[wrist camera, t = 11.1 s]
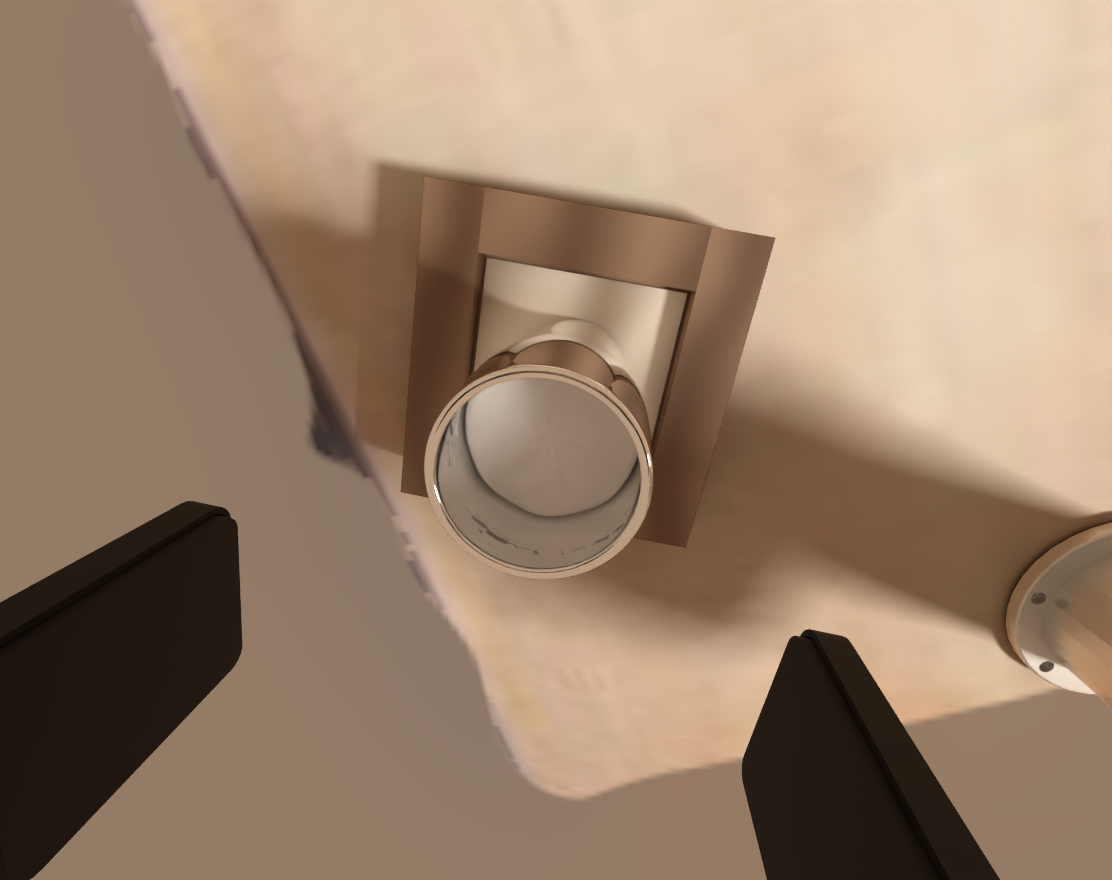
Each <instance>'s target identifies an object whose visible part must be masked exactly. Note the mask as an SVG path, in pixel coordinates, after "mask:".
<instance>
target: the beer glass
mask: <svg viewBox="0 0 1112 880" xmlns="http://www.w3.org/2000/svg"><path fill="white" fill-rule="evenodd" d="M424 476H425V484H426V489H427V493H428V497H429V500H430V503H431V505H432V508H433V510H434V512H435V514H436V516H437V518H438V520H439V521H440V523H441V525H442V526H443V528H444V529H445V530H446V532H447V533H448V534H449V536H450V537H451V538H452V539H453V540H454V541H455V542H456V543H457V544H458V545H459V546H460V547H461V548H462V549H463V550H464V551H466V552H467V553H468V554H469V555H471V556H472V557H474V558H475V559H477V560H478V561H480V562H482V563H483V564H485V565H487V566H489V567H491V568H493V569H496V570H498V571H501V572H503V573H506V574H510V575H513V576H517V577H522V578H529V579H560V578H566V577H571V576H575V575H578V574H582V573H585V572H587V571H590V570H592V569H594V568H596V567H598V566H600V565H602V564H604V563H605V562H607V561H608V560H610V559H611V558H613V557H614V556H615V555H616V554H618V553H619V552H620V551H621V550H622V549H623V548H624V547H625V546H626V545H627V544H628V543H629V542H630V540H631V539H632V538H633V537H634V535H635V534H636V532H637V531H638V529H639V528H640V526H641V524H642V522H643V520H644V518H645V516H646V513H647V510H648V507H649V504H650V500H651V496H652V489H653V466H652V446H651V431H650V425H649V419H648V413H647V409H646V406H645V403H644V400H643V398H642V395H641V393H640V390H639V388H638V386H637V384H636V382H635V380H634V379H633V377H632V375H631V374H630V372H629V371H628V370H627V368H626V365H625V361H624V358H623V355H622V353H621V350H620V349H619V347H618V345H617V343H616V342H615V341H614V339H613V338H612V337H611V336H610V335H609V334H608V333H607V332H606V331H604V330H603V329H601V328H600V327H598V326H596V325H594V324H592V323H589V322H586V321H582V320H575V319H566V320H559V321H555V322H552V323H549V324H547V325H545V326H543V327H542V328H540V329H539V330H537V331H536V332H535V333H534V334H533V335H532V336H530V337H527V338H524V339H521V340H518V341H516V342H514V343H512V344H510V345H508V346H506V347H505V348H503V349H501V350H500V351H498V352H497V353H495V354H494V355H492V356H491V357H490V358H488V359H487V360H486V361H485V362H484V363H483V364H482V365H481V366H480V367H479V368H478V369H477V370H476V371H475V372H474V373H473V374H472V375H471V376H470V377H469V378H468V379H467V380H466V382H465V383H464V384H463V386H462V387H461V388H460V389H459V391H458V392H457V393H456V395H455V396H454V397H453V398H452V399H451V400H450V401H449V402H448V404H447V405H446V406H445V407H444V409H443V410H442V411H441V413H440V415H439V416H438V418H437V420H436V421H435V423H434V425H433V428H432V430H431V433H430V435H429V438H428V442H427V446H426V451H425V459H424Z"/></svg>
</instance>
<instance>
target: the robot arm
mask: <svg viewBox="0 0 1112 880" xmlns="http://www.w3.org/2000/svg"><path fill="white" fill-rule="evenodd" d="M1006 628H1007V635H1008V638H1009V641H1010V643H1011V645H1012V648H1013V650H1014V651H1015V652H1016V654H1017V655H1018V656H1019V658H1020V659H1021V660H1022V661H1023V662H1024V663H1025V664H1026V665H1027V666H1028V667H1029V668H1030V669H1031V670H1032V671H1033V672H1034V673H1035V674H1037V675H1038V676H1040V677H1041V678H1043V679H1044V680H1046V681H1048V682H1049V683H1051V684H1053V685H1056V686H1058V687H1061V688H1064V689H1066V690H1070V691H1076V692H1081V693H1086V694H1096V695H1098V696H1099V697H1100V698H1101V699H1102V700H1103V701H1104V702H1106V703H1107V704H1108V705H1109V706H1110V707H1111V708H1112V522H1111V523H1108V524H1104V525H1100V526H1097V527H1093V528H1090V529H1088V530H1086V531H1083V532H1081V533H1079V534H1076V535H1074V536H1072V537H1070V538H1068V539H1066V540H1065V541H1063V542H1061V543H1060V544H1058V545H1056V546H1055V547H1053V548H1051V549H1050V550H1049V551H1048V552H1047V553H1045V554H1044V555H1043V556H1042V557H1040V558H1039V559H1038V560H1037V561H1036V562H1035V563H1034V564H1033V565H1032V566H1031V567H1030V568H1029V569H1028V571H1027V572H1026V573H1025V574H1024V575H1023V576H1022V578H1021V579H1020V581H1019V583H1018V584H1017V586H1016V588H1015V589H1014V591H1013V593H1012V596H1011V599H1010V602H1009V604H1008V607H1007V615H1006ZM241 650H242V626H241V600H240V575H239V550H238V527H237V523H236V521H235V520H234V519H232V518H231V517H230V514H229V512H228V511H227V510H226V509H225V508H223V507H218V506H213V505H208V504H203V503H199V502H194V501H187V502H184V503H181V504H180V505H178V506H176V507H174V508H172V509H170V510H169V511H167V512H165V513H163V514H161V515H159V516H158V517H156V518H154V519H152V520H150V521H148V522H147V523H145V524H143V525H141V526H139V527H138V528H136V529H134V530H132V531H130V532H128V533H127V534H125V535H123V536H121V537H119V538H117V539H116V540H114V541H112V542H110V543H108V544H107V545H105V546H103V547H101V548H99V549H97V550H95V551H94V552H92V553H90V554H88V555H87V556H84V557H83V558H81V559H79V560H77V561H75V562H73V563H72V564H70V565H68V566H66V567H64V568H63V569H61V570H59V571H57V572H55V573H53V574H52V575H50V576H48V577H46V578H44V579H42V580H41V581H39V582H37V583H35V584H33V585H31V586H30V587H28V588H26V589H24V590H22V591H21V592H19V593H17V594H15V595H13V596H11V597H9V598H8V599H6V600H4V601H2V602H1V603H0V880H30V879H31V878H33V877H34V876H35V875H36V874H37V873H38V872H39V871H41V870H42V869H43V868H44V867H45V865H46V864H47V863H48V862H49V861H50V860H51V859H52V858H53V857H54V856H55V855H56V854H57V853H58V852H59V851H60V850H61V849H62V848H63V847H64V845H65V844H66V843H67V842H68V841H69V840H70V839H71V838H72V837H73V836H74V835H75V834H76V833H77V832H78V831H79V830H80V829H81V827H83V826H84V824H85V823H86V822H87V821H88V820H89V819H90V818H91V817H92V816H93V815H94V814H95V813H96V812H97V811H98V810H99V808H100V807H102V806H103V804H104V803H105V802H106V801H107V800H108V799H109V798H110V797H111V796H112V795H113V794H114V793H115V792H116V791H117V790H118V789H119V788H120V787H121V786H122V784H123V783H124V782H125V781H126V780H127V779H128V778H129V777H130V776H131V775H132V774H133V773H134V772H135V771H136V770H137V769H138V768H139V767H140V766H141V764H142V763H143V762H144V761H145V760H146V759H147V758H148V757H149V756H150V755H151V754H152V753H153V752H154V751H155V750H156V749H157V748H158V747H159V745H160V744H161V743H162V742H163V741H164V740H165V739H166V738H167V737H168V736H169V735H170V734H171V733H172V732H173V731H174V730H175V729H176V728H177V727H178V725H179V724H180V723H181V722H182V721H183V720H184V719H185V718H186V717H187V716H188V715H189V714H190V713H191V712H192V711H193V710H194V709H195V708H196V706H197V705H198V704H199V703H200V702H201V701H202V700H203V699H204V698H205V697H206V696H207V695H208V694H209V693H210V692H211V691H212V689H214V688H215V686H216V685H217V684H218V683H219V682H220V681H221V680H222V679H223V678H224V677H225V676H226V675H227V674H228V673H229V672H230V671H231V670H232V668H233V667H234V666H235V664H236V663H237V661H238V659H239V656H240V654H241ZM742 779H743V784H744V789H745V793H746V797H747V801H748V805H749V809H750V813H751V817H752V821H753V825H754V829H755V833H756V837H757V841H758V845H759V849H760V853H761V857H762V861H763V865H764V869H765V873H766V877H767V880H1000V879H999V877H998V876H997V874H996V873H995V871H994V869H993V868H992V866H991V865H990V863H989V862H988V860H987V858H986V857H985V855H984V854H983V852H982V850H981V849H980V847H979V846H978V844H977V842H976V841H975V839H974V838H973V836H972V834H971V833H970V831H969V830H968V828H967V826H966V825H965V823H964V822H963V820H962V819H961V817H960V815H959V814H958V812H957V811H956V809H955V807H954V806H953V804H952V803H951V801H950V799H949V798H948V796H947V795H946V793H945V792H944V790H943V788H942V787H941V785H940V784H939V782H938V780H937V779H936V777H935V776H934V774H933V773H932V771H931V769H930V768H929V766H928V765H927V763H926V761H925V760H924V758H923V757H922V755H921V753H920V752H919V750H918V749H917V748H916V745H915V744H914V742H913V741H912V739H911V737H910V736H909V735H908V733H907V731H906V730H905V728H904V726H903V725H902V723H901V722H900V720H899V718H898V717H897V715H896V714H895V712H894V710H893V709H892V707H891V706H890V704H889V702H888V701H887V699H886V698H885V696H884V695H883V693H882V691H881V690H880V688H879V687H878V685H877V683H876V682H875V680H874V679H873V677H872V675H871V674H870V672H869V671H868V669H867V668H866V666H865V664H864V663H863V661H862V660H861V658H860V656H859V655H858V653H857V652H856V650H855V648H854V647H853V645H852V644H851V642H850V641H849V640H848V639H847V638H845V637H843V636H839V635H834V634H830V633H825V632H820V631H815V630H810V629H808V630H805V631H804V632H803V633H802V634H801V636H800V637H799V636H793V637H791V638H790V640H789V642H788V644H787V646H786V649H785V652H784V654H783V657H782V659H781V662H780V664H779V667H778V669H777V672H776V675H775V677H774V680H773V682H772V685H771V687H770V690H769V693H768V695H767V698H766V700H765V703H764V705H763V708H762V711H761V713H760V716H759V718H758V721H757V723H756V726H755V728H754V731H753V734H752V736H751V739H750V741H749V744H748V746H747V749H746V752H745V754H744V757H743V762H742Z"/></svg>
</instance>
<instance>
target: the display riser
mask: <svg viewBox="0 0 1112 880" xmlns="http://www.w3.org/2000/svg"><path fill="white" fill-rule="evenodd" d="M774 241H775V238H774V237H768V236H762V235H756V234H751V233H745V232H739V231H734V230H728V229H722V228H716V227H711V226H705V225H699V224H694V223H688V222H682V221H676V220H671V219H665V218H659V217H654V216H648V215H642V214H636V213H631V212H625V211H619V210H614V209H608V208H602V207H596V206H591V205H585V204H579V203H574V202H568V201H562V200H556V199H551V198H545V197H539V196H534V195H528V194H522V193H516V192H511V191H505V190H499V189H494V188H488V187H482V186H476V185H471V184H465V183H459V182H454V181H448V180H442V179H436V178H431V177H425V176H424V188H423V201H422V215H421V228H420V242H419V255H418V268H417V282H416V295H415V309H414V322H413V335H412V349H411V362H410V376H409V389H408V402H407V416H406V429H405V443H404V456H403V469H402V483H401V492H403V493H408V494H413V495H418V496H423V497H428V493H427V489H426V484H425V476H424V459H425V451H426V446H427V442H428V438H429V435H430V433H431V430H432V428H433V425H434V423H435V421H436V420H437V418H438V416H439V415H440V413H441V411H442V410H443V409H444V407H445V406H446V405H447V404H448V402H449V401H450V400H451V399H452V398H453V397H454V396H455V395H456V393H457V392H458V391H459V389H460V388H461V387H462V386H463V384H464V383H465V382H466V380H467V379H468V378H469V377H470V376H471V375H472V374H473V373H474V372H475V371H476V370H477V369H478V368H479V367H480V366H481V365H482V364H483V363H484V362H485V361H486V360H487V359H488V358H490V357H491V356H492V355H494V354H495V353H497V352H498V351H500V350H501V349H503V348H505V347H506V346H508V345H510V344H512V343H514V342H516V341H518V340H521V339H524V338H527V337H530V336H532V335H533V334H534V333H535V332H536V331H537V330H539V329H540V328H542V327H543V326H545V325H547V324H549V323H552V322H555V321H559V320H566V319H575V320H582V321H586V322H589V323H592V324H594V325H596V326H598V327H600V328H601V329H603V330H604V331H606V332H607V333H608V334H609V335H610V336H611V337H612V338H613V339H614V341H615V342H616V343H617V345H618V347H619V349H620V350H621V353H622V355H623V358H624V361H625V365H626V368H627V370H628V371H629V372H630V374H631V375H632V377H633V379H634V380H635V382H636V384H637V386H638V388H639V390H640V393H641V395H642V398H643V400H644V403H645V406H646V409H647V413H648V419H649V425H650V431H651V446H652V466H653V489H652V496H651V500H650V504H649V507H648V510H647V513H646V516H645V518H644V520H643V522H642V524H641V526H640V528H639V529H638V531H637V532H636V534H635V535H634V537H633V538H638V539H643V540H648V541H653V542H658V543H664V544H669V545H674V546H679V547H684V548H686V545H687V542H688V538H689V535H690V531H691V528H692V525H693V521H694V518H695V514H696V511H697V507H698V504H699V500H700V497H701V493H702V490H703V486H704V483H705V480H706V476H707V473H708V469H709V466H710V462H711V459H712V455H713V452H714V448H715V445H716V442H717V438H718V435H719V431H720V428H721V424H722V421H723V417H724V414H725V410H726V407H727V403H728V400H729V397H730V393H731V390H732V386H733V383H734V379H735V376H736V372H737V369H738V365H739V362H740V358H741V355H742V352H743V348H744V345H745V341H746V338H747V334H748V331H749V327H750V324H751V320H752V317H753V313H754V310H755V307H756V303H757V300H758V296H759V293H760V289H761V286H762V282H763V279H764V275H765V272H766V268H767V265H768V262H769V258H770V255H771V251H772V248H773V244H774ZM428 498H429V497H428Z"/></svg>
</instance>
